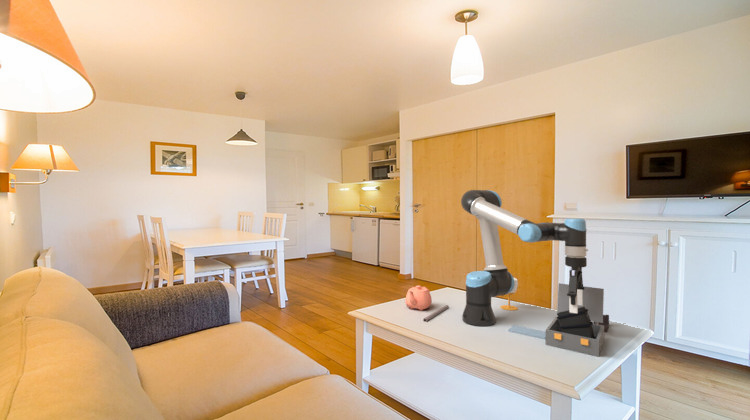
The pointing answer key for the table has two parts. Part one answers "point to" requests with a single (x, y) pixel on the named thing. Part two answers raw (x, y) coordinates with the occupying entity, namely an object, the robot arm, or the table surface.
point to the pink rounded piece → (418, 298)
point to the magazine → (576, 323)
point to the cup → (508, 307)
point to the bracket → (605, 322)
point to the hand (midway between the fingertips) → (576, 308)
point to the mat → (528, 331)
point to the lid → (590, 301)
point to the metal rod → (435, 313)
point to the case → (575, 339)
